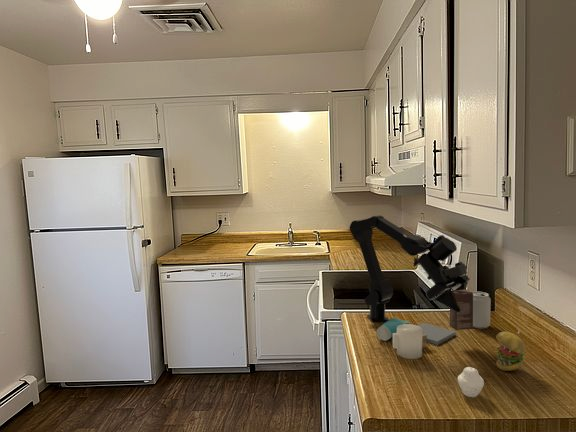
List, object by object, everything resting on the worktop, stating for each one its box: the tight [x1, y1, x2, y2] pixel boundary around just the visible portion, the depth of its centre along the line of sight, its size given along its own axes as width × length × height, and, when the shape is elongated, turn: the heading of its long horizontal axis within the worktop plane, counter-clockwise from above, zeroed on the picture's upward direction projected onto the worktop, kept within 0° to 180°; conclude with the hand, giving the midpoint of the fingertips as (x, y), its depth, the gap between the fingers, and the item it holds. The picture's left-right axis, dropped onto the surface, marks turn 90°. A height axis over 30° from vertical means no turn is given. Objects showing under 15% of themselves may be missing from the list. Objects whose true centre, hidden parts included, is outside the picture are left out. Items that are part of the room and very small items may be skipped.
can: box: [472, 290, 492, 330], centre depth 149 cm, size 8×8×12 cm
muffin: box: [457, 366, 485, 398], centre depth 104 cm, size 6×6×7 cm
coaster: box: [417, 322, 457, 346], centre depth 142 cm, size 12×12×1 cm
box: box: [449, 289, 474, 331], centre depth 132 cm, size 6×4×12 cm
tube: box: [376, 317, 411, 342], centre depth 145 cm, size 7×5×19 cm
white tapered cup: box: [392, 323, 423, 360], centre depth 127 cm, size 9×8×8 cm
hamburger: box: [495, 328, 526, 372], centre depth 116 cm, size 8×7×12 cm
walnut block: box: [422, 333, 428, 349], centre depth 133 cm, size 4×4×4 cm
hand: (465, 308), depth 131 cm, fingers closed on box, 7 cm apart
